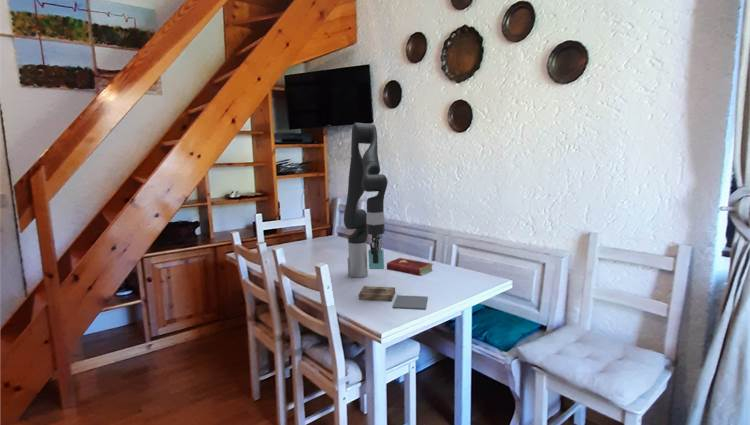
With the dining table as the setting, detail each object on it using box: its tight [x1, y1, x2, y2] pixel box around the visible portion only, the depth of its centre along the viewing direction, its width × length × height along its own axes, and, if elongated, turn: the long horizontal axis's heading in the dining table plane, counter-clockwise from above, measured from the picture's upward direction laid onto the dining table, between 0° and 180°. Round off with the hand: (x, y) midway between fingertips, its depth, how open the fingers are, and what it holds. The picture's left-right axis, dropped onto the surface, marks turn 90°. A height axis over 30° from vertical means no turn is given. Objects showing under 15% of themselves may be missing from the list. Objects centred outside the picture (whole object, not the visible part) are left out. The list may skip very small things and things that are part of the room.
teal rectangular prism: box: [367, 248, 385, 270], centre depth 175 cm, size 6×2×8 cm, turn 79°
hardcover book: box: [386, 257, 434, 277], centre depth 215 cm, size 12×21×4 cm, turn 51°
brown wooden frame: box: [358, 285, 396, 302], centre depth 178 cm, size 14×10×3 cm
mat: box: [392, 294, 429, 311], centre depth 169 cm, size 13×13×1 cm
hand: (376, 262), depth 176 cm, fingers closed on teal rectangular prism, 2 cm apart
